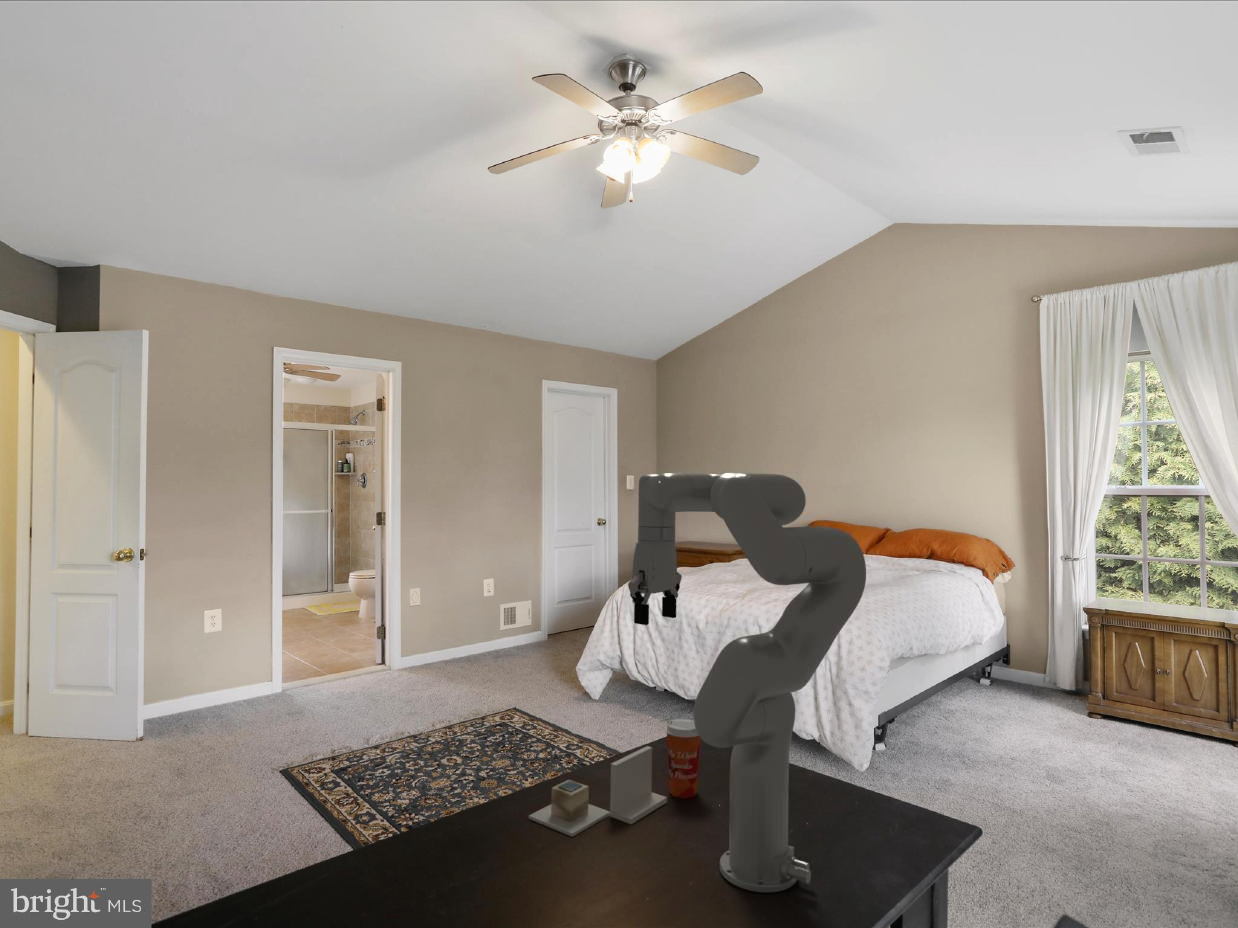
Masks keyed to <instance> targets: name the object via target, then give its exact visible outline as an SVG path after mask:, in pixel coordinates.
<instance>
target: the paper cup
mask: <svg viewBox="0 0 1238 928" xmlns="http://www.w3.org/2000/svg"><path fill="white" fill-rule="evenodd" d="M665 733H666V748H667V749H666V750H667V763H668V764H667V765H668V767H667V768H668V769H667V770H668V785H669V793H670V795H671V794H672V795H671V796H673V797H675V798H678V797H679V799H690V798H689V797H691V798H693V796H694V797H696V796H697V792H698V783H699V767H700V753H701V752H700V750H701V740H702V739H701V737H700V736H699V735H698V733H697V731H696V728H695V724H694V719H693V720H692V719H685V718H680V719H679V718H678V719H672V720H670V721H669V722H668V724H667V725H666V727H665Z"/></svg>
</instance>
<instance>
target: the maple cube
mask: <svg viewBox="0 0 1238 928" xmlns="http://www.w3.org/2000/svg"><path fill="white" fill-rule="evenodd" d="M589 791H590V789H589V785H587V784H583V783H580V782H578V781H574V780H572V779H567V780H565V781H563V782H561V783H559V784H556V785H555V786H553V787H551V803H550V805H551V815H554V816H556V817H559V818H561V819H564V820H566V821H569V822H572V821H574V820H576V819H578V818H580V817H581V816H583V815H585V814H587V813H588V804H589V795H590V794H589Z"/></svg>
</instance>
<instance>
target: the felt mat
mask: <svg viewBox="0 0 1238 928" xmlns="http://www.w3.org/2000/svg"><path fill="white" fill-rule="evenodd" d="M609 816H610V811H609V810H606V809H605V808H604V809H603V808H601V807H598V806H595V805H593V804H590V803H588V813H587V814H585V815H583V816H581V817H580V818H578V819H576V820H574V821H572V822H569V821H566V820H564V819H561V818H559V817H556V816H554V815H551V804H548V805H547V806H544V807H543V808H541V809H539V810H537V811H535V812H533V813H531V814H529V815H528V819H529V820H531V821H534V822H535V823H538V824H541V825H542V826H546V827H548V828H550V829H552V830H555V831H557V832H560V833H562V834H565V835H567V836H569V837H571V838H573V837H575V836H576V835H579V834H580V833H581V832H583V831H585V830H587V829H588V828H590V827H592V826H594V825H596V824H597V823H599V822H601V821H603V820H604V819H607V818H608V817H609Z"/></svg>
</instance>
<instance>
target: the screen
mask: <svg viewBox="0 0 1238 928" xmlns="http://www.w3.org/2000/svg"><path fill="white" fill-rule="evenodd" d="M652 770H653V747H651V746H649V745H648V746H645V747H642V748H640V749H638V750H635V751H634V752H632V753H630V754H627V755H626V756H624V757H622V758H620V759H618V760H616V761H614V762H612V763H610V804H609V807H610V808H609V810H610V811H609V812H610V815H609V816H610V818H612V819H616V820H618V821H622V823H623V822H624V823H626V824H629V825H633V824H634V823H636V822H637V821H639V820H641V819H642V818H644V817H646V816H647V815H648V814H650V813H652V812H654V811H656V810H657V809H658V808H661V807H662V806H663V805H665V804H666V803H668V797H667V796H665V795H660V794H658V793H655V792H654V791H653V792H652V789H653V788H652V787H653V786H652V777H653V776H652V775H653V774H652V773H653V771H652Z"/></svg>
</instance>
